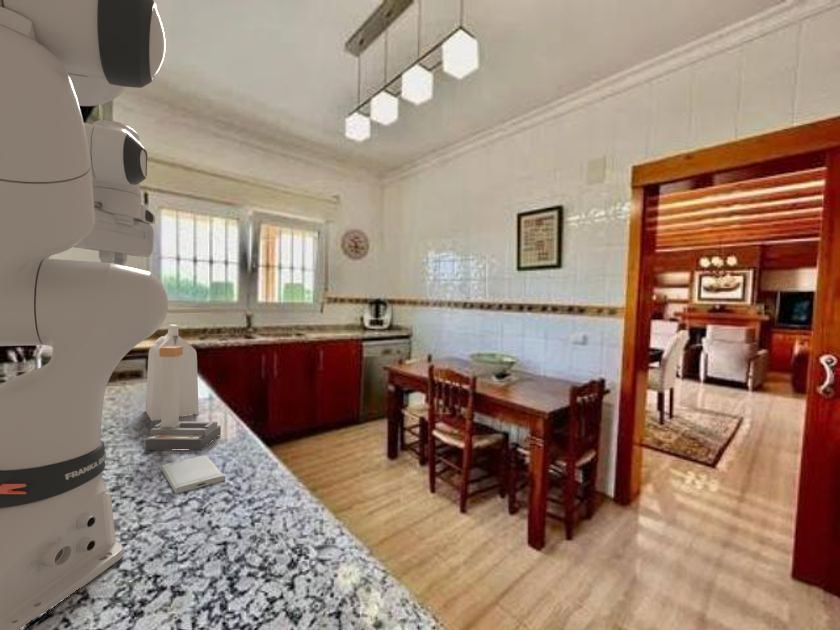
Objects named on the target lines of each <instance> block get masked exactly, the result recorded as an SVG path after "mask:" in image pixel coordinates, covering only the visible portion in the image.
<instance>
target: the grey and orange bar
mask: <svg viewBox="0 0 840 630" xmlns="http://www.w3.org/2000/svg"><path fill="white" fill-rule="evenodd" d="M180 355H183V347H181V346H166V347H161V348H160V353H159V356H161V357H162V401H161V420H160V421H161V422H160V423H161V427H160V428H180V423H179V421H180V417H179V391H180Z"/></svg>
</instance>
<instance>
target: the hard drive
mask: <svg viewBox="0 0 840 630" xmlns="http://www.w3.org/2000/svg"><path fill="white" fill-rule="evenodd" d="M161 471H162V473H163V474H164V476H165V478H166V480H167V481H168V483H169V485H170V487H171V488H172V490H173V492H174V494H176V495H177V494H180V493H183V492H186V491H190V490H194V489H198V488H202V487H206V486H210V485H213V484H217V483H220V482H223V481H226V475H224V473H223V472H222V471H221V470H220V468H219V467H217V465H216V464H215V463H214V462H213V461H212V460H211V458H209V456H208V455H199V456H195V457H189V458H187V459H181V460H177V461H173V462H168V463H164V464H162V465H161Z"/></svg>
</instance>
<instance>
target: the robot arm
mask: <svg viewBox="0 0 840 630" xmlns="http://www.w3.org/2000/svg"><path fill="white" fill-rule="evenodd" d="M158 11H159V10H158V6H157V4H156V2H155V0H0V347H7V346H8V347H13V346H14V347H16V346H19V347H20V346H48V347H51V348H52V352H51V358H50V359H49V362H47V363H46V364H45V365H42V366H41V367H39V368H38V367H37V368H35V369H34V370H33V369H32V370H31V371H27V372H24V373H23V374H20V375H18V376H15V377H13V378H11V379H8V380H7V381H5V382H2V383H1V384H0V630H19V629H20V628H21V627H23V626H24V625H26V624H27V623H29V622H30V621H31V620H33V619H35V618H36V617H37V616H39V615H40V614H42V613H44V612H45V611H47V610H48V609H49V608H51V607H52V606H54V605H55V604H57V603H58V602H60V601H61V600H63V599H64V598H66V597H67V596H69V595H70V594H72V593H73V592H75V591H76V590H78V589H79V588H80V589H82V588H83V587H85V586H86V585H87V584H88V583H90V582H91V581H92V580H94V579H95V578H97V577H98V576H99V575H100V574H102V573H103V572H105V571H107V570H108V568H110V567H111V566H113V565H114V564H116V563H117V562H118V561H120V560H121V559H122V558H123V556H124V553H125V552H124V548H123V545H122V544H121V543H120V542H118V541H117V540H116V531H115V521H114V512H113V511H114V510H113V503H112V496H111V493H110V491H109V489H108V488H107V485H106V483H105V481H104V479H103V471H104V470H105V468H106V458H107V451H106V448H105V443H104V441H103V440H102V416H103V405H104V399H105V393H106V389H107V386H108V383H109V381H110V379H111V376H112V374H113V373H114V371H115V369H116V367H118V364H119V363H120V362H121V361H122V360H123V358H124V357H125V356H126V355H127V354H128V353H130V351H131V350H133V349H134V348H135V347H136V346H138V345H139V344H140V343H142V342H143V341H145V340H147V339H148V338H150V337H151V336H152V335H154V334H155V332H157V331H158V330H159V329H160V328H161V326H162V325H163V323H164V321H165V319H166V318H167V314H168V309H169V300H168V295H167V292H166V289H165V287H164V286H163V284H162V282H161V281H160V280H159V278H158V277H157V276H156V275H155V274H154V273H152V272H151V271H149V270H144V269H139V268H135V267H132V266H126V265H125V264H126V262H127V261H128V256H133V257H142V258H150V257H151V255H152V254H153V249H154V237H155V236H154V235H155V233H154V227H153V225H154V224H155V223H156V215H155V214H154V213H153V212H151V211H150V209H148V208H147V207H146V206H145V204H144V203H143V202H142V201H143V200H142V199H143V198H142V197H143V196H142V195H143V194H142V191H141V188H140V187H141V186H140V184H141V183H142V182H144V181H145V180H146V179H148V178H147V177H148V173H147V171H148V152H147V149H146V148H145V147H144V146H143V144H142V143H141V138H140V135H139V134H138V132H136V131H135V130H134V129H133V128H131V126H128V125H127V124H124V123H121V122H119V121H115V120H110V119H99V120H95V121H94V122H93V123H92V124H91V123H87V122H84V118H83V114H82V110H81V108H80V107H97V106H100V105H104V104H107V103H109V102H112V101H114V100H115V99H117V98H118V97H119V96H121V94H122V93H123V92H124V90H125V88H138V89H141V88H144V87H146V86H147V85H149V84H151V83H152V82H154V80H155V79H156V74H158V72H159V71H160V68H161V67H162V64H163V62H164V59H165V54H166V38H165V37H166V36H165V31H164V27H163V23H162V21H161V17H160V15H159V12H158ZM72 248H76V249H82V250H83V249H84V250H90V251H96V252H97V251H98V259H99V260H100V261H89V260H87V261H85V260H71V259H60V258H59V259H58V258H48V257H51V256H54V255H57V254H61V253H63V252H66V251H68V250H70V249H72ZM81 587H82V588H81ZM80 589H79V590H80ZM79 590H78V591H79ZM76 592H77V591H76ZM76 592H75V593H76ZM72 595H73V594H72ZM69 597H70V596H69Z"/></svg>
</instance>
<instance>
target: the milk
mask: <svg viewBox="0 0 840 630" xmlns="http://www.w3.org/2000/svg"><path fill="white" fill-rule="evenodd" d="M167 328H168V329H167V333H165V335H164V336H163V335H162V336H160V337H158V338H157V339H156V340H155V341H154V344H153V345H152V346H151V347H150V348H149V351H148V355H147V358H148V359H147V373H146V376H147V378H146V391H145V392H146V394H145V410H146V411H145V410H144V411H145V413H146V412H147V413H146V414H147V415H148V417H150V418H149V419H150V421H151V422H155V421H161V420H160V419H161V401H162V357H161V356H159V353H160V348H161V347H166V346H181V347H183V355H180V391H179V416H182V417H184V416H183V415H189V416H191V415H190V414H195V415H197V414H196V413H199V384H198V383H199V381H198V376H199V375H198V358H197V357H198V355H197V350H196V349H195V348H194V347H193V346H192V345H191V344H189V343H188V342H187V341H185V340H184V339H183V338H182V337H181V336H180V335H179V325H178V324H175V323H174V324H168V327H167ZM199 414H200V413H199ZM154 420H155V421H154Z"/></svg>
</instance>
